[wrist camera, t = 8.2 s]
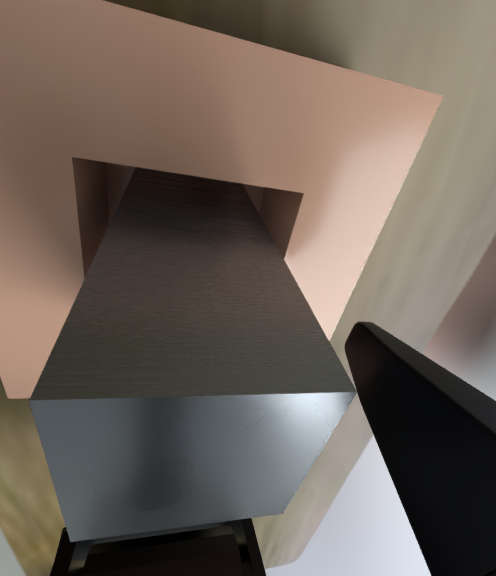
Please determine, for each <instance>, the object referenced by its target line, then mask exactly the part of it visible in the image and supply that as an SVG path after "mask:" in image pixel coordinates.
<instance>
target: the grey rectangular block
mask: <svg viewBox="0 0 496 576" xmlns="http://www.w3.org/2000/svg"><path fill="white" fill-rule="evenodd" d="M356 393H357V391H356V389H355V388H354V386H353V384H352V382H351V380H350V378H349V377H348V375H347V373H346V371H345V369H344V368H343V366H342V364H341V362H340V360H339V358H338V357H337V355H336V353H335V351H334V349H333V348H332V346H331V344H330V342H329V340H328V338H327V337H326V335H325V333H324V331H323V329H322V328H321V326H320V324H319V322H318V320H317V318H316V317H315V315H314V313H313V311H312V309H311V308H310V306H309V304H308V302H307V300H306V298H305V297H304V295H303V293H302V291H301V289H300V288H299V286H298V284H297V282H296V280H295V278H294V277H293V275H292V273H291V271H290V269H289V268H288V266H287V264H286V262H285V260H284V258H283V257H282V255H281V253H280V251H279V249H278V248H277V246H276V244H275V242H274V240H273V238H272V237H271V235H270V233H269V231H268V229H267V228H266V226H265V224H264V222H263V220H262V218H261V217H260V215H259V213H258V211H257V209H256V208H255V206H254V204H253V202H252V200H251V198H250V197H249V195H248V193H247V191H246V189H245V188H244V186H243V184H242V183H235V182H229V181H222V180H216V179H210V178H203V177H197V176H190V175H184V174H178V173H171V172H165V171H159V170H152V169H146V168H139V167H136V168H135V170H134V172H133V174H132V176H131V179H130V181H129V183H128V185H127V187H126V190H125V192H124V194H123V196H122V198H121V200H120V203H119V205H118V207H117V209H116V211H115V214H114V216H113V218H112V220H111V222H110V225H109V227H108V229H107V231H106V233H105V235H104V238H103V240H102V242H101V244H100V246H99V249H98V251H97V253H96V255H95V257H94V259H93V262H92V264H91V266H90V268H89V270H88V273H87V275H86V277H85V279H84V281H83V284H82V286H81V288H80V290H79V292H78V294H77V297H76V299H75V301H74V303H73V305H72V308H71V310H70V312H69V314H68V316H67V318H66V321H65V323H64V325H63V327H62V329H61V332H60V334H59V336H58V338H57V340H56V342H55V345H54V347H53V349H52V351H51V353H50V356H49V358H48V360H47V362H46V364H45V367H44V369H43V371H42V373H41V375H40V377H39V380H38V382H37V384H36V386H35V388H34V391H33V393H32V395H31V397H30V399H29V402H30V406H31V409H32V413H33V416H34V420H35V423H36V426H37V430H38V433H39V437H40V440H41V443H42V447H43V450H44V454H45V457H46V460H47V464H48V467H49V471H50V474H51V477H52V481H53V484H54V488H55V491H56V494H57V498H58V501H59V505H60V508H61V511H62V515H63V518H64V522H65V525H66V528H67V532H68V535H69V539H70V542H75V541H83V540H90V539H98V538H105V537H112V536H120V535H127V534H135V533H142V532H150V531H157V530H165V529H172V528H180V527H187V526H194V525H202V524H209V523H217V522H224V521H232V520H239V519H247V518H254V517H262V516H269V515H276V514H283V512H284V511H285V509H286V507H287V506H288V504H289V503H290V501H291V499H292V498H293V496H294V494H295V493H296V491H297V489H298V488H299V486H300V485H301V483H302V481H303V480H304V478H305V476H306V475H307V473H308V471H309V470H310V468H311V466H312V465H313V463H314V462H315V460H316V458H317V457H318V455H319V453H320V452H321V450H322V448H323V447H324V445H325V444H326V442H327V440H328V439H329V437H330V435H331V434H332V432H333V430H334V429H335V427H336V426H337V424H338V422H339V421H340V419H341V417H342V416H343V414H344V412H345V411H346V409H347V407H348V406H349V404H350V403H351V401H352V399H353V398H354V396H355V394H356Z"/></svg>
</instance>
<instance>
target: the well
mask: <svg viewBox="0 0 496 576" xmlns="http://www.w3.org/2000/svg"><path fill="white" fill-rule="evenodd" d="M443 97H444V96H441V95H438V94H434V93H431V92H427V91H424V90H420V89H417V88H413V87H410V86H406V85H402V84H399V83H395V82H392V81H388V80H385V79H381V78H378V77H374V76H370V75H367V74H363V73H360V72H356V71H353V70H349V69H346V68H342V67H338V66H335V65H331V64H328V63H324V62H321V61H317V60H314V59H310V58H306V57H303V56H299V55H296V54H292V53H289V52H285V51H282V50H278V49H275V48H271V47H267V46H264V45H260V44H257V43H253V42H250V41H246V40H243V39H239V38H235V37H232V36H228V35H225V34H221V33H218V32H214V31H211V30H207V29H203V28H200V27H196V26H193V25H189V24H186V23H182V22H179V21H175V20H171V19H168V18H164V17H161V16H157V15H154V14H150V13H147V12H143V11H140V10H136V9H132V8H129V7H125V6H122V5H118V4H115V3H111V2H108V1H104V0H0V377H1V380H2V383H3V386H4V388H5V391H6V394H7V397H8V399H15V398H30V397H31V395H32V393H33V391H34V388H35V386H36V384H37V382H38V380H39V377H40V375H41V373H42V371H43V369H44V367H45V364H46V362H47V360H48V358H49V356H50V353H51V351H52V349H53V347H54V345H55V342H56V340H57V338H58V336H59V334H60V332H61V329H62V327H63V325H64V323H65V321H66V318H67V316H68V314H69V312H70V310H71V308H72V305H73V303H74V301H75V299H76V297H77V294H78V292H79V290H80V288H81V286H82V284H83V281H84V279H85V277H86V275H87V273H88V270H89V268H90V266H91V264H92V262H93V259H94V257H95V255H96V253H97V251H98V249H99V246H100V244H101V242H102V240H103V238H104V235H105V233H106V231H107V229H108V227H109V225H110V222H111V220H112V218H113V216H114V214H115V211H116V209H117V207H118V205H119V203H120V200H121V198H122V196H123V194H124V192H125V190H126V187H127V185H128V183H129V181H130V179H131V176H132V174H133V172H134V170H135V168H136V167H139V168H146V169H152V170H159V171H165V172H171V173H178V174H184V175H190V176H197V177H203V178H210V179H216V180H222V181H229V182H235V183H242V184H243V186H244V188H245V189H246V191H247V193H248V195H249V197H250V198H251V200H252V202H253V204H254V206H255V208H256V209H257V211H258V213H259V215H260V217H261V218H262V220H263V222H264V224H265V226H266V228H267V229H268V231H269V233H270V235H271V237H272V238H273V240H274V242H275V244H276V246H277V248H278V249H279V251H280V253H281V255H282V257H283V258H284V260H285V262H286V264H287V266H288V268H289V269H290V271H291V273H292V275H293V277H294V278H295V280H296V282H297V284H298V286H299V288H300V289H301V291H302V293H303V295H304V297H305V298H306V300H307V302H308V304H309V306H310V308H311V309H312V311H313V313H314V315H315V317H316V318H317V320H318V322H319V324H320V326H321V328H322V329H323V331H324V333H325V335H326V337H327V338H328V340H329V341H330V338H331V336H332V334H333V332H334V330H335V328H336V326H337V323H338V321H339V319H340V317H341V315H342V313H343V311H344V308H345V306H346V304H347V302H348V300H349V298H350V296H351V294H352V291H353V289H354V287H355V285H356V283H357V281H358V279H359V276H360V274H361V272H362V270H363V268H364V266H365V264H366V261H367V259H368V257H369V255H370V253H371V251H372V249H373V246H374V244H375V242H376V240H377V238H378V236H379V234H380V231H381V229H382V227H383V225H384V223H385V221H386V219H387V217H388V214H389V212H390V210H391V208H392V206H393V204H394V202H395V199H396V197H397V195H398V193H399V191H400V189H401V187H402V184H403V182H404V180H405V178H406V176H407V174H408V172H409V169H410V167H411V165H412V163H413V161H414V159H415V157H416V154H417V152H418V150H419V148H420V146H421V144H422V142H423V140H424V137H425V135H426V133H427V131H428V129H429V127H430V125H431V122H432V120H433V118H434V116H435V114H436V112H437V110H438V107H439V105H440V103H441V101H442V99H443Z"/></svg>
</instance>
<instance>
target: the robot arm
mask: <svg viewBox="0 0 496 576" xmlns="http://www.w3.org/2000/svg"><path fill="white" fill-rule="evenodd" d="M345 353H346V356H347V360H348V363H349V366H350V370H351V373H352V376H353V380H354V383H355V386H356V390H357V393H358V396H359V399H360V402H361V405H362V407H363V410H364V412H365V415H366V417H367V420H368V422H369V424H370V427H371V429H372V432H373V434H374V437H375V439H376V442H377V444H378V446H379V449H380V451H381V454H382V456H383V459H384V461H385V463H386V466H387V468H388V471H389V473H390V476H391V478H392V480H393V483H394V485H395V488H396V490H397V493H398V495H399V497H400V500H401V503H402V505H403V507H404V510H405V512H406V515H407V517H408V519H409V522H410V525H411V527H412V529H413V532H414V534H415V537H416V539H417V541H418V544H419V546H420V549H421V551H422V554H423V556H424V558H425V561H426V563H427V566H428V568H429V571H430V573H431V576H496V401H495V400H493V399H492V398H490V397H488V396H487V395H485V394H484V393H482V392H481V391H479V390H478V389H476V388H474V387H473V386H471V385H470V384H468V383H467V382H465V381H463V380H462V379H460V378H459V377H457V376H456V375H454V374H452V373H451V372H449V371H448V370H446V369H445V368H443V367H441V366H440V365H438V364H437V363H435V362H434V361H432V360H430V359H429V358H427V357H426V356H424V355H423V354H421V353H419V352H418V351H416V350H415V349H413V348H412V347H410V346H408V345H407V344H405V343H404V342H402V341H401V340H399V339H397V338H396V337H394V336H393V335H391V334H390V333H388V332H386V331H385V330H383V329H382V328H380V327H379V326H377V325H375V324H374V323H372V322H357V323H356V324H355V325H354V326H353V328H352V330H351V332H350V334H349V336H348V338H347V340H346V342H345ZM50 576H266V573H265V569H264V565H263V562H262V558H261V554H260V550H259V546H258V542H257V538H256V534H255V530H254V527H253V523H252V519H251V518H247V519H239V520H232V521H224V522H217V523H209V524H202V525H194V526H187V527H180V528H172V529H165V530H157V531H150V532H142V533H135V534H127V535H120V536H112V537H105V538H98V539H90V540H83V541H75V542H70V539H69V535H68V532H67V528H66V527H65V528H63V530H62V534H61V538H60V542H59V546H58V549H57V553H56V557H55V561H54V564H53V567H52V570H51V573H50Z"/></svg>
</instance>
